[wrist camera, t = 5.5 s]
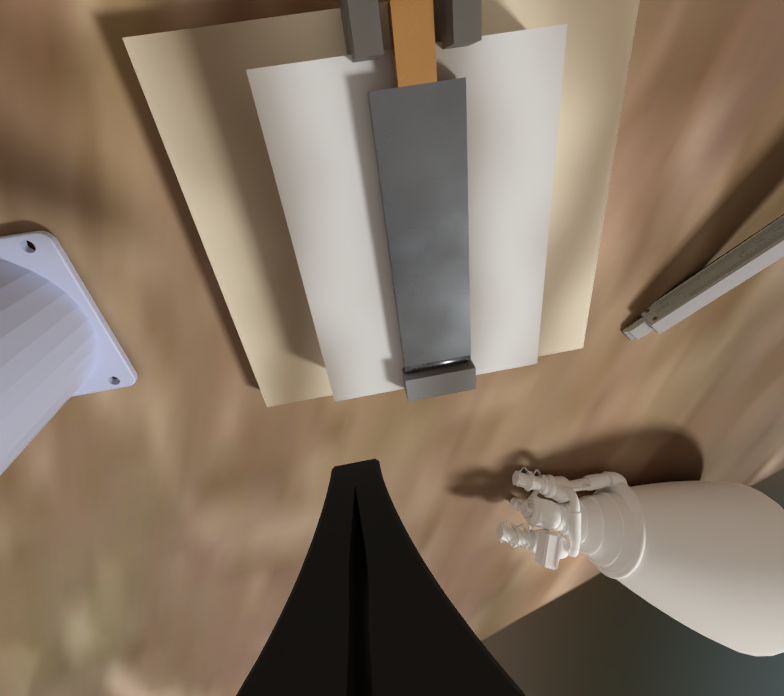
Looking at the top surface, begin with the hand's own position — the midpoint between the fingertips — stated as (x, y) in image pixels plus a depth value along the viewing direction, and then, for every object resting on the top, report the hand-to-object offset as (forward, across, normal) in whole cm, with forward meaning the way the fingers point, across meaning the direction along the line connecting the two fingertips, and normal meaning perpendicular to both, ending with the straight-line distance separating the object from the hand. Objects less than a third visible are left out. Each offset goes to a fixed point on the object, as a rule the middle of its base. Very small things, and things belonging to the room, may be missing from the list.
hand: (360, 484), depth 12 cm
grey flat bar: (+7, -4, -6) cm, 10 cm away
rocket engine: (+11, -18, +18) cm, 28 cm away
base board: (+10, -4, -4) cm, 12 cm away
